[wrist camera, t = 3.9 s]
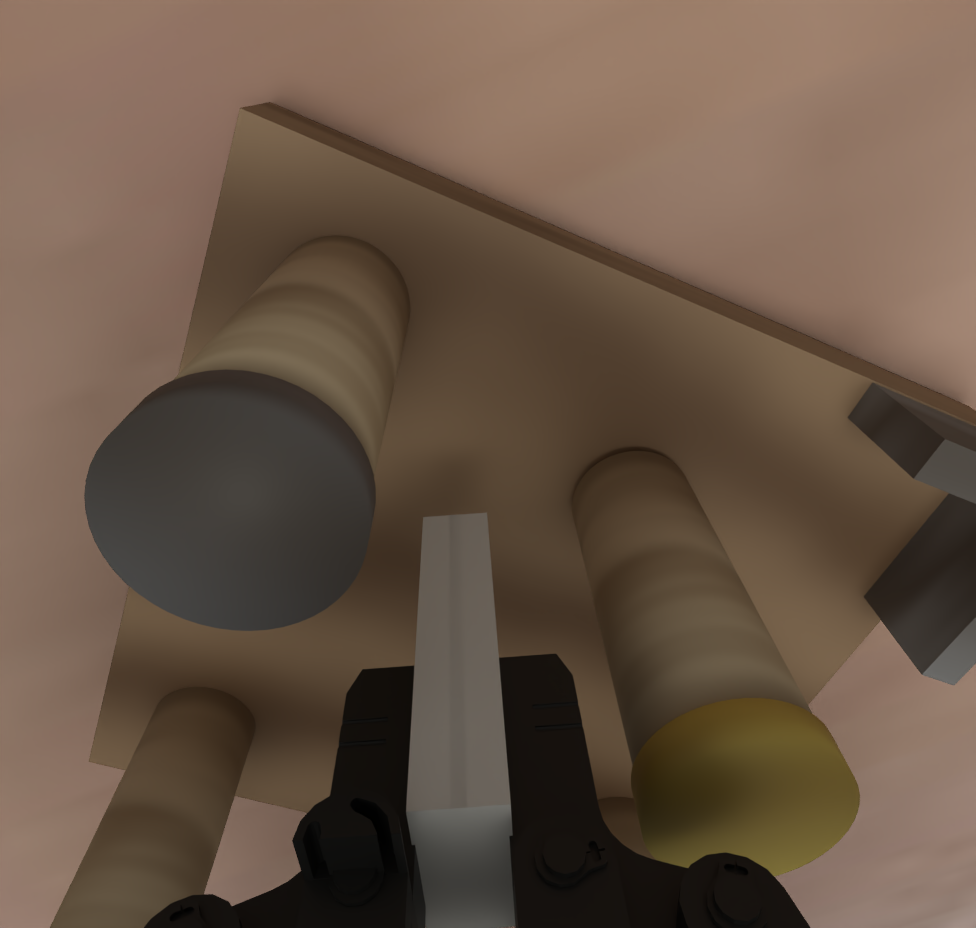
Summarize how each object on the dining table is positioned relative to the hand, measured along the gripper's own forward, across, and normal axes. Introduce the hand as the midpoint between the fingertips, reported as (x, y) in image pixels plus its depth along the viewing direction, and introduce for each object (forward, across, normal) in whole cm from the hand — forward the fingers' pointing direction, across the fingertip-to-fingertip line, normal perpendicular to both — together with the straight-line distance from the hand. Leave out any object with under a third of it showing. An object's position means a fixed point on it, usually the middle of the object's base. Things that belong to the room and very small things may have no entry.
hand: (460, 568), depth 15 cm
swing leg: (+3, +5, -5) cm, 8 cm away
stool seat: (+6, +1, -5) cm, 8 cm away
